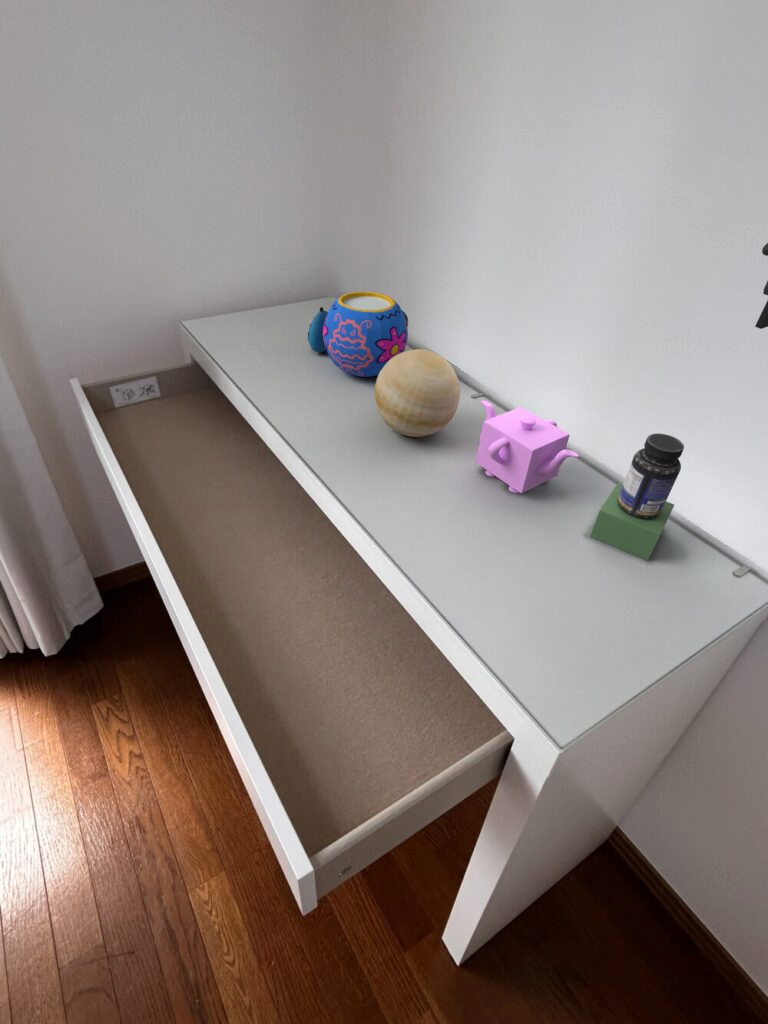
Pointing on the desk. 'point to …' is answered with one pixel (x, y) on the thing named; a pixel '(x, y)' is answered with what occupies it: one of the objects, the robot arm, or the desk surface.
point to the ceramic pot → (364, 332)
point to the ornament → (317, 332)
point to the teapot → (521, 448)
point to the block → (629, 527)
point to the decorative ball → (417, 393)
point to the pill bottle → (651, 476)
